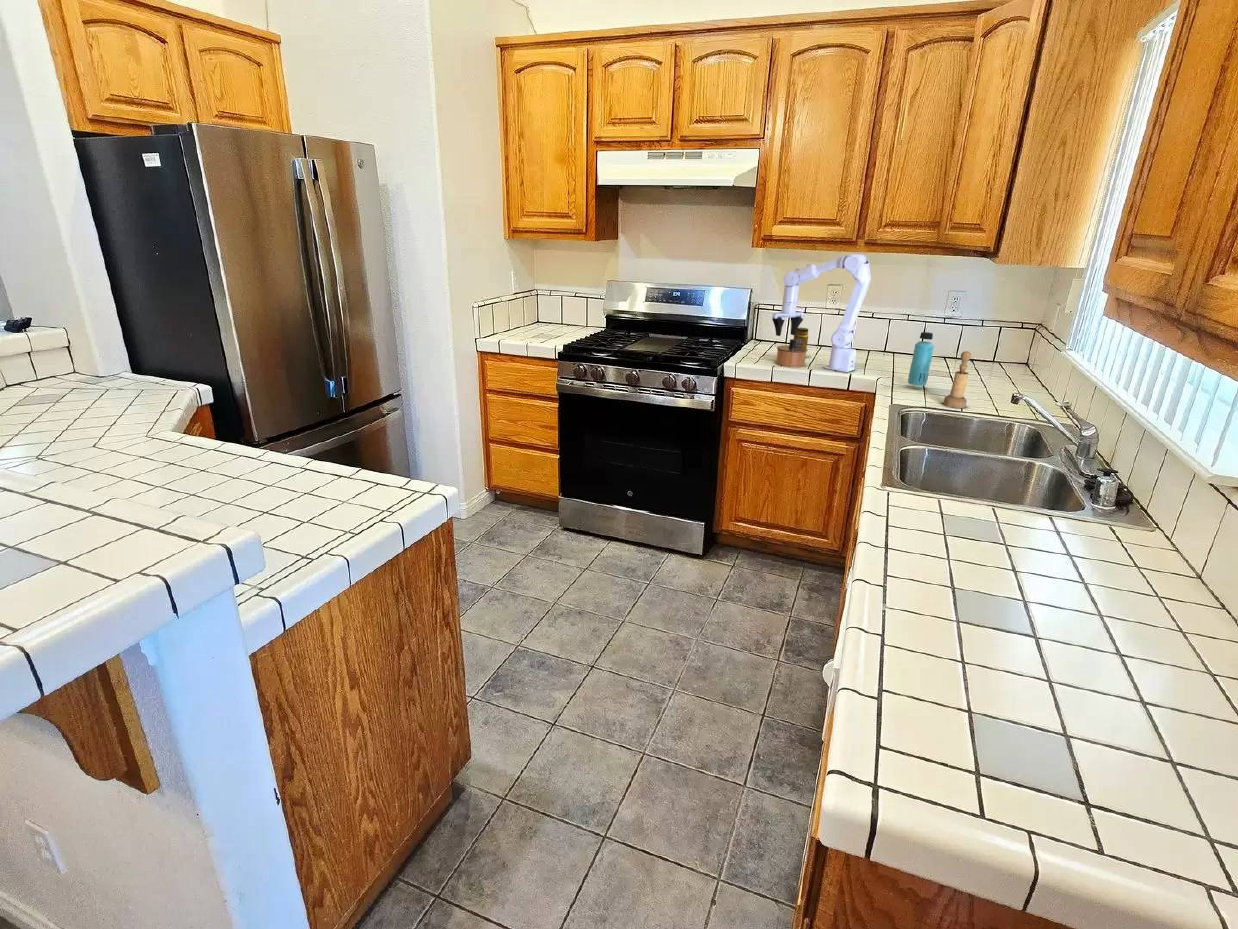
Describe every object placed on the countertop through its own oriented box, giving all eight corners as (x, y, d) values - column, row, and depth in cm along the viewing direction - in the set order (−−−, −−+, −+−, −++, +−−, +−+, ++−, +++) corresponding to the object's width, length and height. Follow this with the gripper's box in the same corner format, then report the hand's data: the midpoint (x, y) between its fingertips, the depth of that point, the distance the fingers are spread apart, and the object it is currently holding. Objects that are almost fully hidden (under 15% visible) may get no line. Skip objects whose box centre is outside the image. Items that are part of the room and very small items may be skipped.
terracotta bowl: (809, 364, 266) (811, 350, 264) (795, 368, 258) (797, 353, 256) (785, 359, 273) (787, 345, 271) (770, 363, 266) (772, 348, 263)
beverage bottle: (916, 390, 232) (928, 334, 225) (902, 385, 237) (913, 331, 230) (929, 389, 234) (941, 333, 227) (915, 384, 240) (926, 330, 233)
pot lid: (812, 351, 264) (814, 340, 262) (797, 355, 256) (799, 344, 254) (786, 346, 272) (787, 335, 270) (770, 350, 264) (772, 339, 262)
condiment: (809, 356, 281) (813, 328, 276) (798, 359, 275) (803, 330, 271) (794, 353, 286) (798, 326, 281) (784, 355, 280) (787, 328, 276)
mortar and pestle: (944, 406, 213) (956, 352, 207) (942, 401, 219) (954, 348, 212) (966, 409, 211) (979, 354, 204) (964, 404, 217) (977, 350, 210)
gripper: (797, 300, 271) (793, 332, 276) (769, 300, 265) (765, 334, 270) (808, 302, 265) (804, 335, 270) (780, 303, 259) (776, 337, 264)
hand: (785, 335), depth 269 cm, fingers open, 7 cm apart
